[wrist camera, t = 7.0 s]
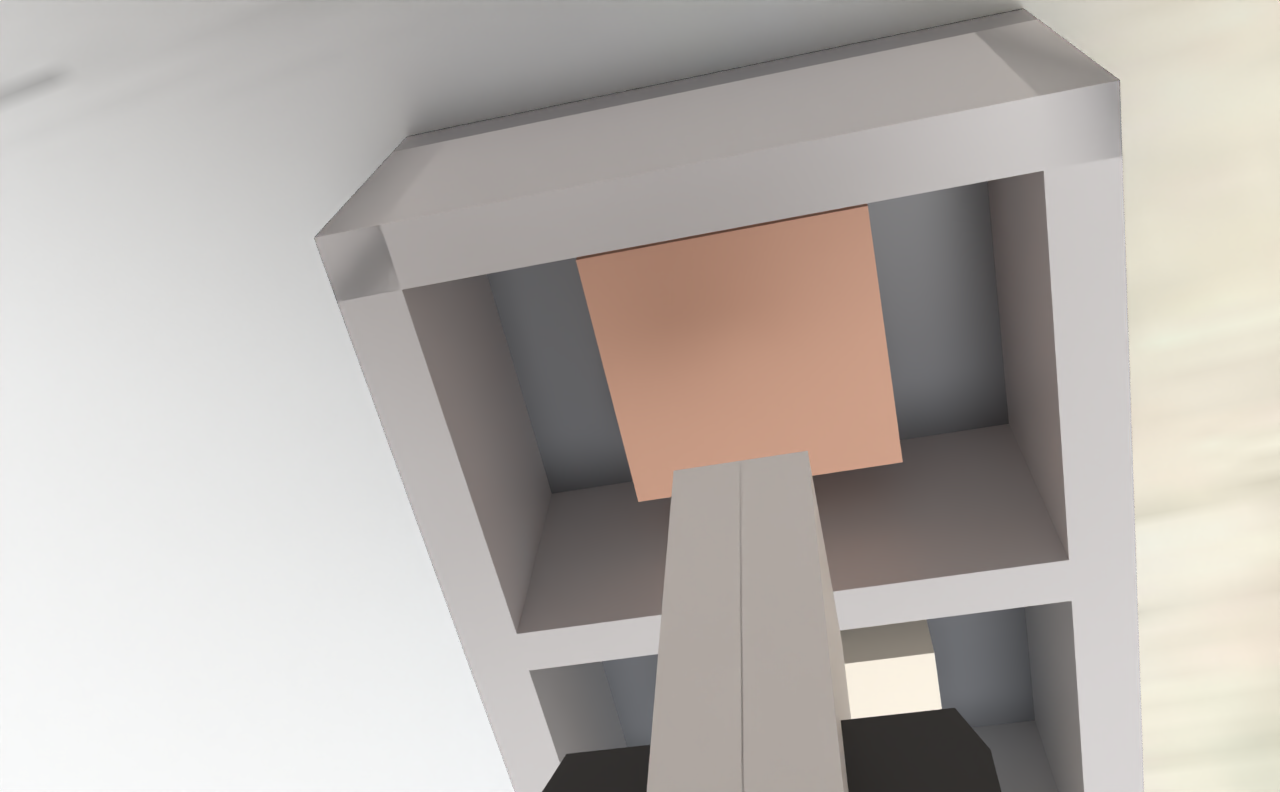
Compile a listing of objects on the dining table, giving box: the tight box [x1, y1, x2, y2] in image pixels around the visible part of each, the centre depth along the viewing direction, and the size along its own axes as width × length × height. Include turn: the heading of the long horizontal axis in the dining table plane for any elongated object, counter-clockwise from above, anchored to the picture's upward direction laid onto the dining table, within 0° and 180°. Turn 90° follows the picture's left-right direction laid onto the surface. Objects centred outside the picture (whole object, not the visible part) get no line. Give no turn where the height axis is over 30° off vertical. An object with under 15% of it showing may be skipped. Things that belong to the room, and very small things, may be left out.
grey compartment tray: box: [314, 9, 1144, 792], centre depth 23 cm, size 23×11×5 cm, turn 12°
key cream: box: [840, 620, 942, 719], centre depth 22 cm, size 5×5×2 cm
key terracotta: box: [576, 204, 903, 502], centre depth 20 cm, size 5×5×2 cm
